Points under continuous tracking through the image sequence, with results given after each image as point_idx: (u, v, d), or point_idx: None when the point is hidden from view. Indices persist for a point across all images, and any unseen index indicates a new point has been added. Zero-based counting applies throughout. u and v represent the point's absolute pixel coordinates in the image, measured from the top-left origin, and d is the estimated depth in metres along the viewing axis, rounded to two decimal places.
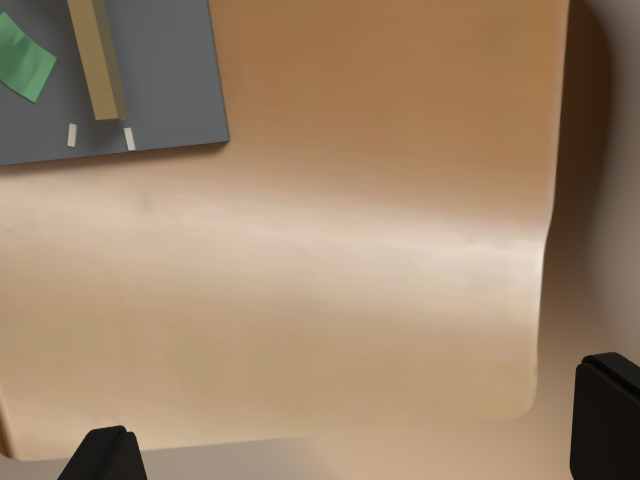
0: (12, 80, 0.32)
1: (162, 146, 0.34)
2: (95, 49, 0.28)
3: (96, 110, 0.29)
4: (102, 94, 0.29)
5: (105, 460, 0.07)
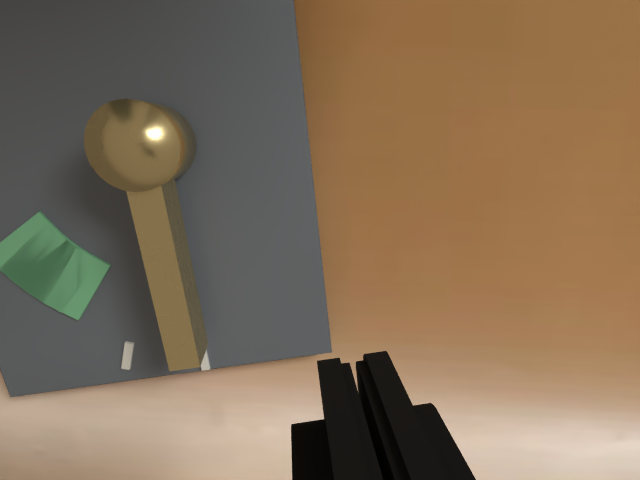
0: (48, 294, 0.23)
1: (245, 362, 0.26)
2: (172, 286, 0.20)
3: (171, 359, 0.21)
4: (180, 340, 0.21)
5: (347, 380, 0.08)
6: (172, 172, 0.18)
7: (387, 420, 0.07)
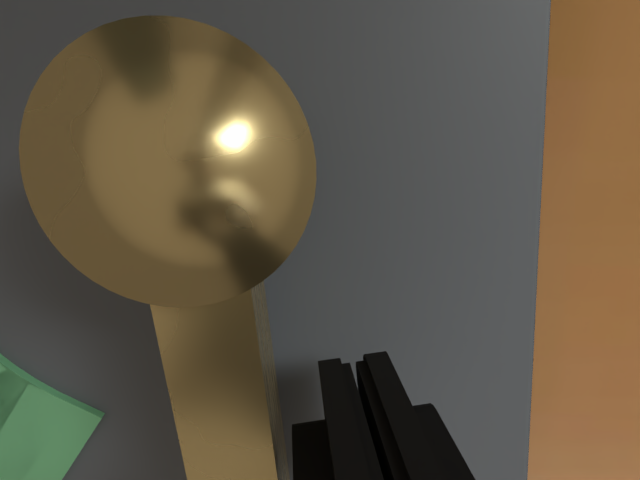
0: None
1: None
2: None
3: None
4: None
5: (348, 380, 0.08)
6: (290, 251, 0.06)
7: (387, 420, 0.07)
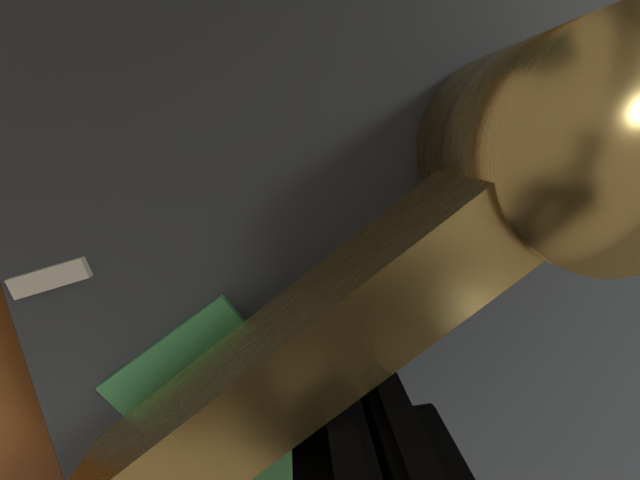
0: None
1: None
2: (286, 421, 0.07)
3: None
4: None
5: None
6: (604, 276, 0.06)
7: (387, 420, 0.07)
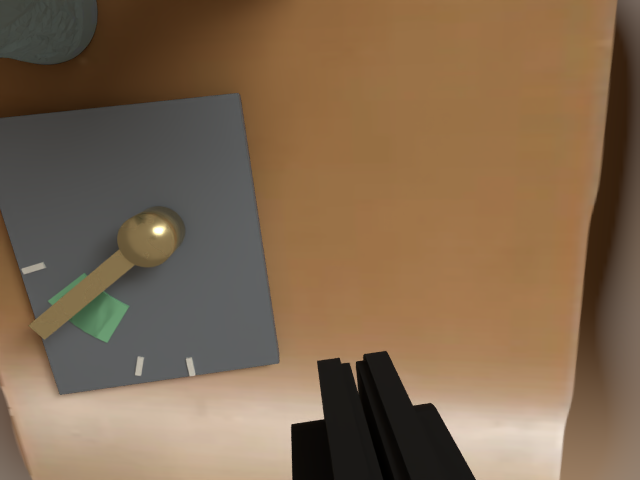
0: (88, 325, 0.35)
1: (219, 370, 0.37)
2: (83, 298, 0.31)
3: (36, 322, 0.31)
4: (52, 320, 0.31)
5: (347, 380, 0.08)
6: (147, 266, 0.30)
7: (387, 420, 0.07)
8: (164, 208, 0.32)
